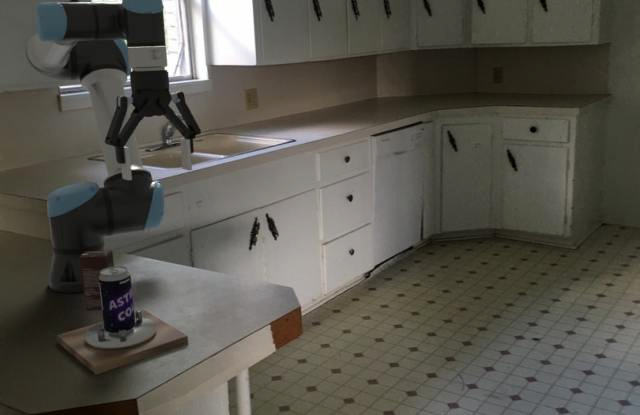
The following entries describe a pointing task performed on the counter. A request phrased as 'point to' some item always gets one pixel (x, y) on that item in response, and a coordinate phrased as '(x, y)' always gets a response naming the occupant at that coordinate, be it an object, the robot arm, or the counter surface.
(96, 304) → the box
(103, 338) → the flange
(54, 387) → the counter surface
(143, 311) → the base plate
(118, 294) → the beverage can
